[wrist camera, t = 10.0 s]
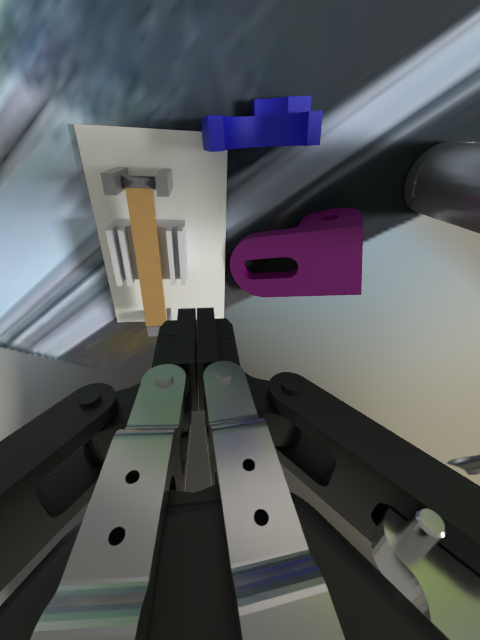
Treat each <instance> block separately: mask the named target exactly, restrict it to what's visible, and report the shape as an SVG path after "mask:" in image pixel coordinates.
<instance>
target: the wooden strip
mask: <svg viewBox="0 0 480 640" xmlns="http://www.w3.org/2000/svg"><path fill="white" fill-rule="evenodd" d="M120 179H121V186H122V189H125V191H126V197H127V204H128V210H129V217H130V223H131V230H132V236H133V243H134V249H135V256H136V263H137V269H138V276H139V282H140V289H141V295H142V302H143V308H144V315H145V321H146V326H161V325H162V324H163V323H164V322H165V321H166V320H167V312H166V303H165V293H164V284H163V274H162V264H161V255H160V245H159V236H158V226H157V217H156V207H155V197H154V190H156V180H155V176H141V175H121V177H120Z"/></svg>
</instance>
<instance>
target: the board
mask: <svg viewBox="0 0 480 640" xmlns="http://www.w3.org/2000/svg"><path fill="white" fill-rule="evenodd" d="M74 128H75V133H76V137H77V142H78V146H79V151H80V155H81V160H82V164H83V169H84V173H85V178H86V182H87V187H88V191H89V196H90V200H91V205H92V209H93V214H94V218H95V223H96V227H97V232H98V236H99V241H100V245H101V250H102V254H103V259H104V263H105V268H106V272H107V277H108V281H109V286H110V290H111V295H112V299H113V304H114V308H115V313H116V317H117V322H139V321H145V315H144V308H143V302H142V295H141V289H140V282H139V276H138V269H137V263H136V256H135V249H134V243H133V236H132V230H131V223H130V217H129V210H128V204H127V197H126V191H125V189H122V186H121V179H120V177H121V175H141V176H155V180H156V190H154V197H155V207H156V217H157V226H158V236H159V245H160V255H161V264H162V274H163V284H164V293H165V303H166V312H167V320H177V315H178V309H180V308H195V309H196V320H197V308H210V307H214V316H215V319H220V318H224V288H225V241H226V194H227V150H225V151H218V152H209V151H205V150H204V149H203V140H202V132H199V131H183V130H167V129H150V128H134V127H118V126H102V125H85V124H74ZM160 327H161V326H147V331H148V336H158V333H159V328H160Z"/></svg>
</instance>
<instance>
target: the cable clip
mask: <svg viewBox="0 0 480 640" xmlns="http://www.w3.org/2000/svg"><path fill="white" fill-rule="evenodd" d="M310 108H311V96H291V97H281V98H269V99H254V100H252V101H251V116H246V117H227V116H223V115H211V116H206V117H204V118H202V119H200V120H201V130H202V140H203V149H204V150H205V151H209V152H218V151H225V150H230V149H240V148H253V147H270V146H309V145H320V135H321V124H322V113H323V111H310Z"/></svg>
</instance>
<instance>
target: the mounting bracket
mask: <svg viewBox="0 0 480 640" xmlns="http://www.w3.org/2000/svg"><path fill="white" fill-rule="evenodd" d="M362 246H363V219H362V212H361V211H360V210H357V209H353V208H333V209H327V210H324V211H320V212H316V213H312V214H310V215H307V216H306V217H304V218H303V219H302V220H301V222H300V224H299V226H298V227H295V228H289V229H281V230H272V231H263V232H256V233H252V234H250V235H248V236H246V237H245V238H243V239H242V240H241V241H240V243H239V244H238V245H237V246H236V248H235V249H234V251H233V253H232V255H231V258H230V270H231V274H232V276H233V278H234V280H235V281H236V283H237V284H238V285H239V286H240V287H241V288H242V289H243V290H245V291H246V292H248V293H250V294H252V295H255V296H260V297H289V296H322V295H323V296H324V295H361V282H362V281H361V280H362ZM279 257H290V258H292V259H294V260H295V261H296V262H297V264H298V268H297V269H296V270H293V271H282V272H266V273H252V272H250V271H249V270H248V269H247V268H246V267H245V263H244V262H245V261H246V260H254V259H266V258H279Z"/></svg>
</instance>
